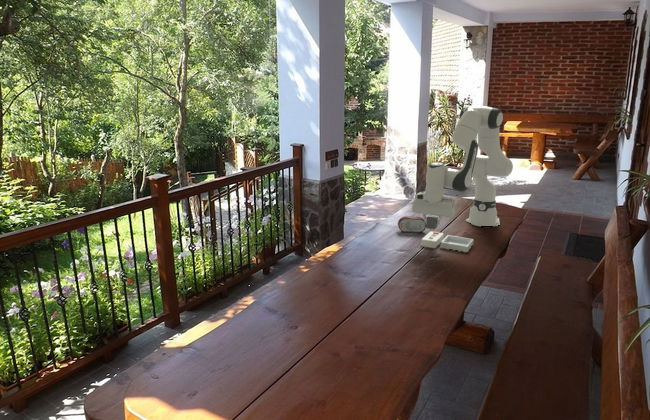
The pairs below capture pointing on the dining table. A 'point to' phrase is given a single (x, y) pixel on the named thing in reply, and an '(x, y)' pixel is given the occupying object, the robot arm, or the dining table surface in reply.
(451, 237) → the tray
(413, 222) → the tin
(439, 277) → the dining table surface
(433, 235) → the power strip
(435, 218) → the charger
